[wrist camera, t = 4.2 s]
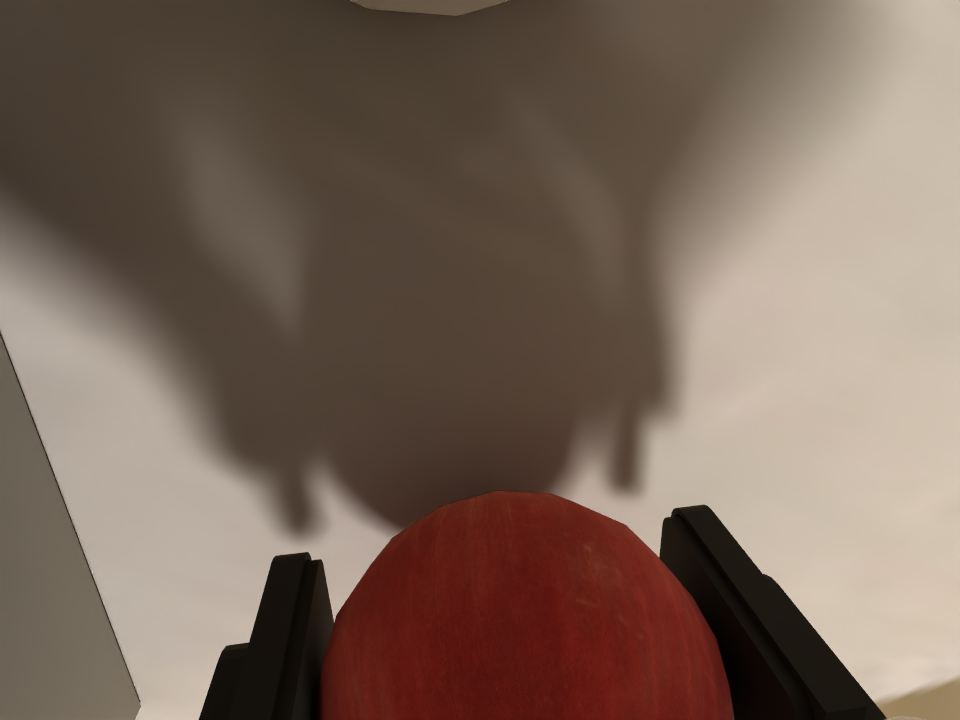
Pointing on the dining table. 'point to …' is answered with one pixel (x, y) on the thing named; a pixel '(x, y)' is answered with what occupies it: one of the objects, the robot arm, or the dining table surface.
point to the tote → (48, 591)
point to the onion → (521, 623)
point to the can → (429, 5)
